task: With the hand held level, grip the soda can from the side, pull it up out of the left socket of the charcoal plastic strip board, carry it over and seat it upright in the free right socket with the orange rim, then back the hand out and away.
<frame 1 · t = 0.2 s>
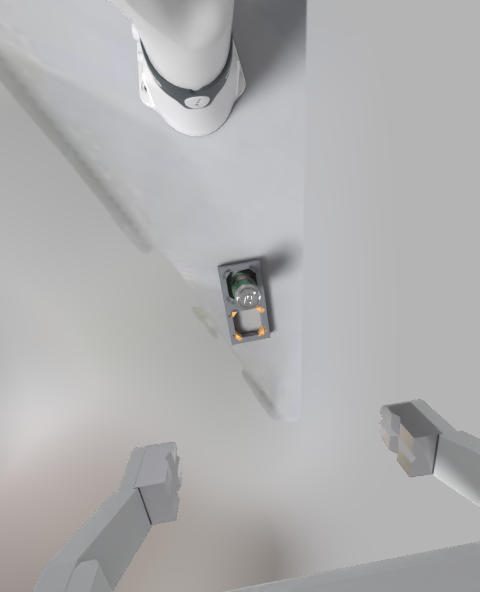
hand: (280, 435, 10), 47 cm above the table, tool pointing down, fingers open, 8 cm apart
socket board: (244, 301, 58), on the table
soda can: (241, 282, 57), resting in socket board
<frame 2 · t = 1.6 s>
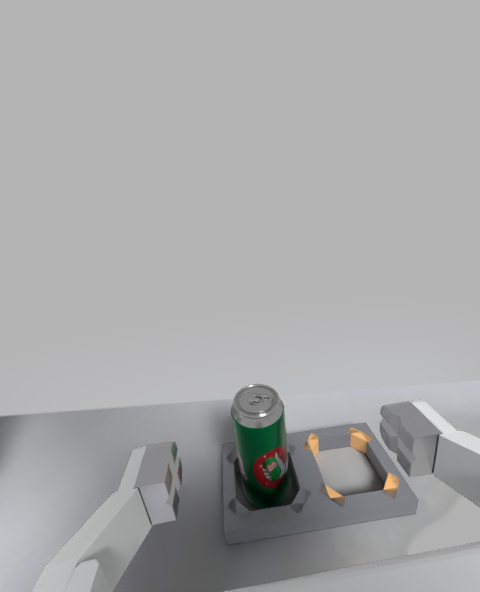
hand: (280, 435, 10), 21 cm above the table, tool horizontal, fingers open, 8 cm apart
socket board: (306, 480, 28), on the table
soda can: (266, 488, 28), resting in socket board
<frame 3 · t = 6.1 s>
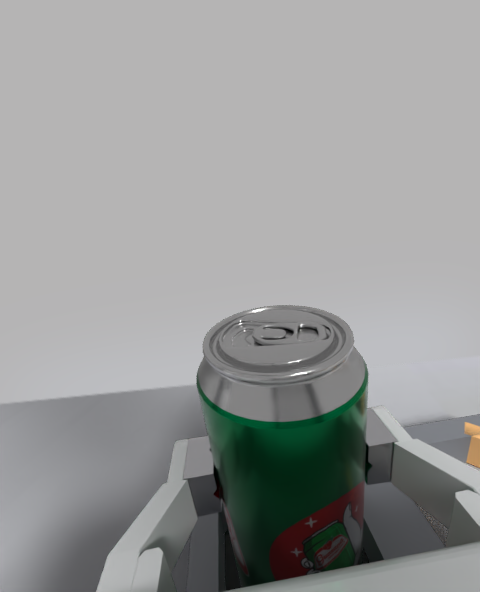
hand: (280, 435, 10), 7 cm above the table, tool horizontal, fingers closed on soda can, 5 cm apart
socket board: (395, 553, 12), on the table
soda can: (298, 575, 11), resting in socket board, touching gripper
when the fingers open (8 cm above the table, at t = 10.6 s): soda can stays where it is, resting in socket board.
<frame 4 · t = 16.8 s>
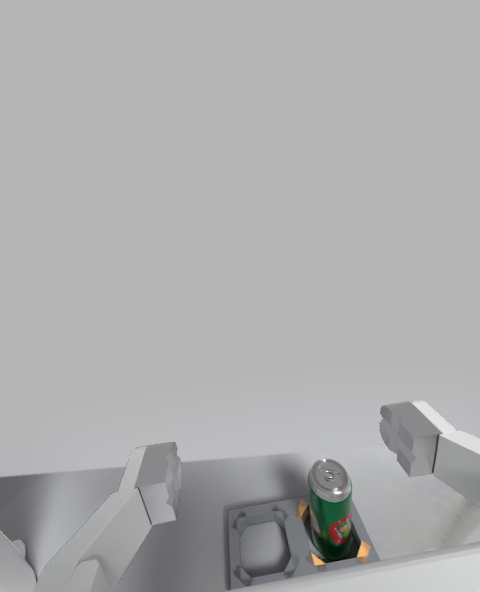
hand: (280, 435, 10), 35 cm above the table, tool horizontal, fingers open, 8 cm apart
socket board: (297, 544, 35), on the table
soda can: (330, 539, 35), resting in socket board
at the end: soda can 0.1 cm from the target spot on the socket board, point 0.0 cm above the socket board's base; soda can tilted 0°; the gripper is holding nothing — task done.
